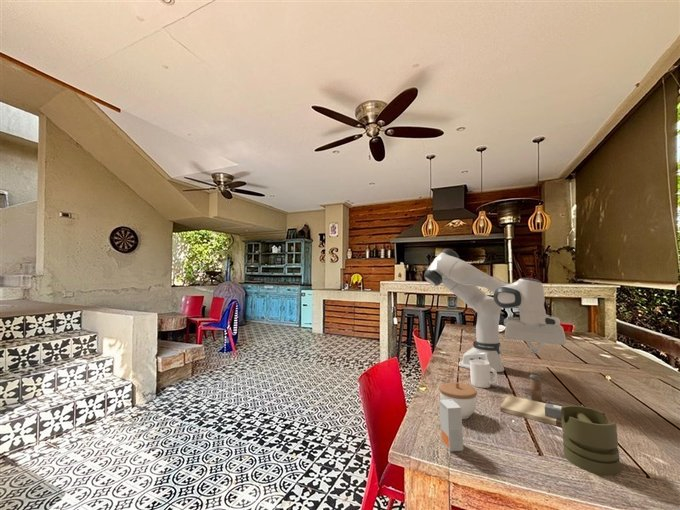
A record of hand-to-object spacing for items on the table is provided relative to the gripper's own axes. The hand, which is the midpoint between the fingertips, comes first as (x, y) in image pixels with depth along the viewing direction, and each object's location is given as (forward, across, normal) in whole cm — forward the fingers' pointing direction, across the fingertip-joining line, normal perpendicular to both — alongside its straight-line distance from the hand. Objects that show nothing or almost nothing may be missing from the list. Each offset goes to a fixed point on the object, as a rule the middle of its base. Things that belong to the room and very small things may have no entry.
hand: (535, 353), depth 115 cm
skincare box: (+19, -16, -51) cm, 57 cm away
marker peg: (+19, -1, 0) cm, 19 cm away
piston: (+19, +15, -36) cm, 43 cm away
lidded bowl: (+19, -21, -30) cm, 41 cm away
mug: (+19, -20, +5) cm, 28 cm away
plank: (+19, +2, -12) cm, 22 cm away
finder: (+17, +7, -15) cm, 23 cm away
